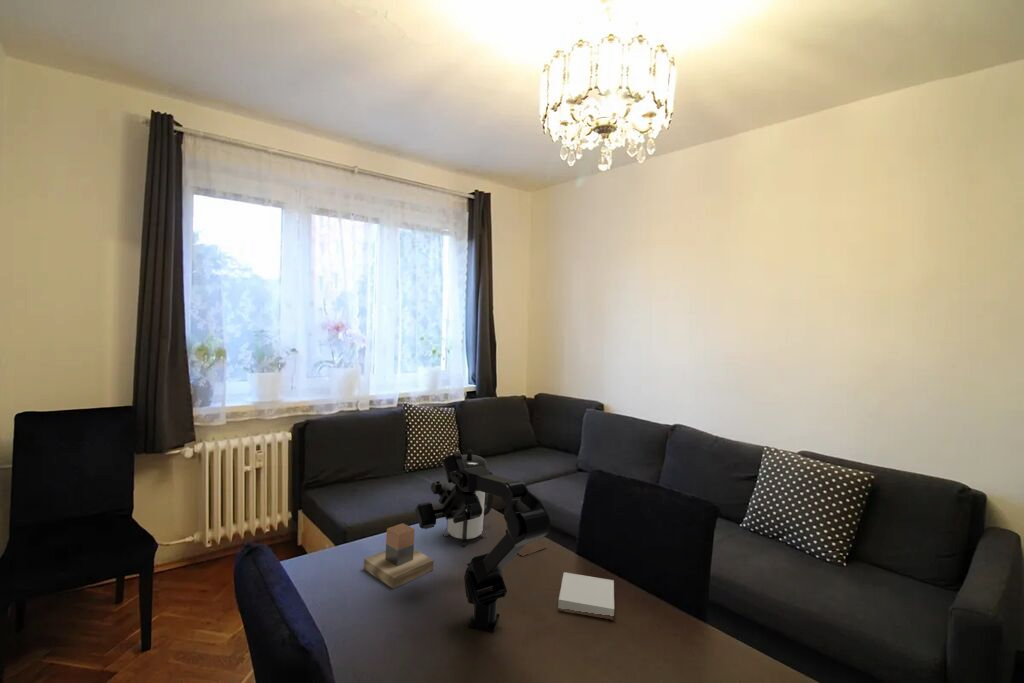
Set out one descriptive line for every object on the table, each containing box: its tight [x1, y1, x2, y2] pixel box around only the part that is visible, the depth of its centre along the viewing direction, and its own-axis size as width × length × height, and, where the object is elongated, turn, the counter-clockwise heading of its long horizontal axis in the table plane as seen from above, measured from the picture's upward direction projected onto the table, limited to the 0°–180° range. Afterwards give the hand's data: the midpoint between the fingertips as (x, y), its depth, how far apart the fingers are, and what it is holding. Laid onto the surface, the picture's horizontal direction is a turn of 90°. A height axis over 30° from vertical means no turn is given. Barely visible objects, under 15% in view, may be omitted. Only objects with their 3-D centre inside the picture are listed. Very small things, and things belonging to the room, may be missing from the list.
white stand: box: [557, 571, 615, 617], centre depth 126 cm, size 14×14×3 cm
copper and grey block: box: [385, 522, 416, 566], centre depth 135 cm, size 6×6×9 cm
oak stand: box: [363, 549, 435, 589], centre depth 136 cm, size 14×14×3 cm
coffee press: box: [442, 448, 494, 547], centre depth 160 cm, size 17×16×30 cm
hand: (439, 524), depth 136 cm, fingers open, 9 cm apart
